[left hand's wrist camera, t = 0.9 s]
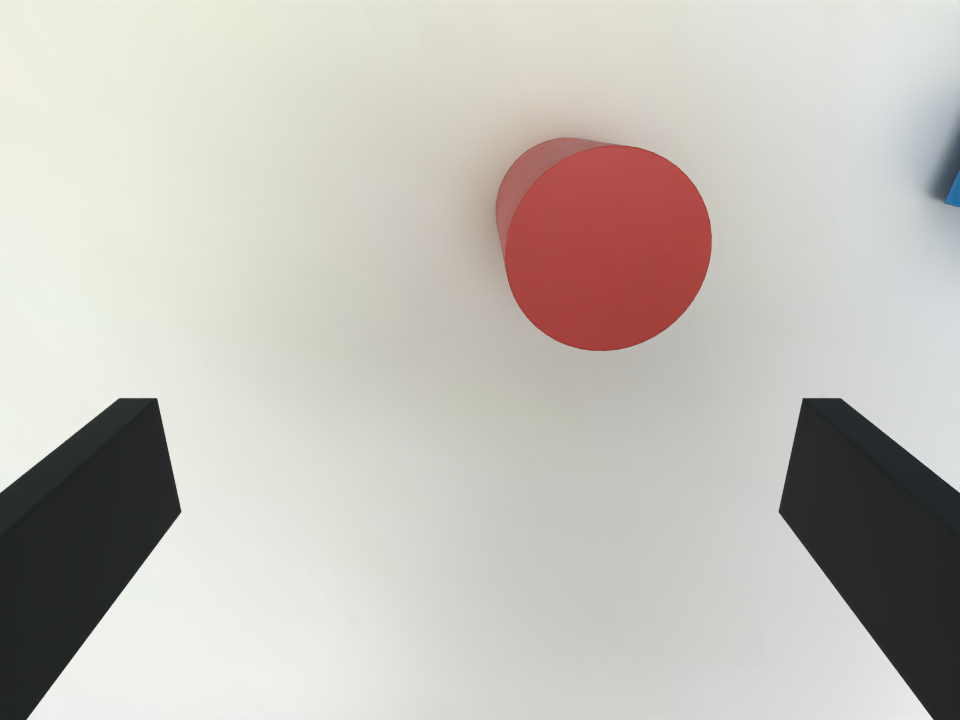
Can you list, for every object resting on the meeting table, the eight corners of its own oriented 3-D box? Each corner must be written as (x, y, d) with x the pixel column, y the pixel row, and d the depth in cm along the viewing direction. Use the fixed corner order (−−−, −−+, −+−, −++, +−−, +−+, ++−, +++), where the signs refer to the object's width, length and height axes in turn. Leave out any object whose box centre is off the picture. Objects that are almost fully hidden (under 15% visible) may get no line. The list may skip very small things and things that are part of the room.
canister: (502, 131, 29) (516, 135, 19) (643, 144, 29) (733, 155, 19) (489, 271, 31) (495, 343, 21) (619, 282, 32) (688, 359, 21)
